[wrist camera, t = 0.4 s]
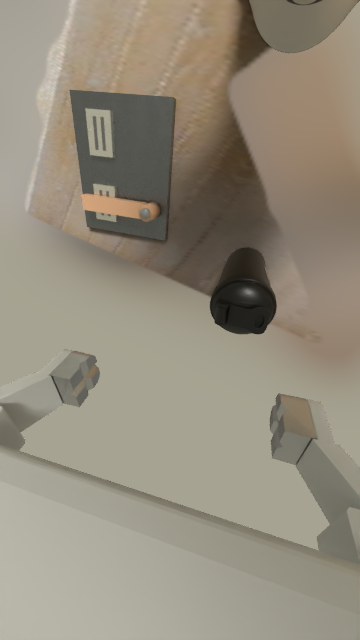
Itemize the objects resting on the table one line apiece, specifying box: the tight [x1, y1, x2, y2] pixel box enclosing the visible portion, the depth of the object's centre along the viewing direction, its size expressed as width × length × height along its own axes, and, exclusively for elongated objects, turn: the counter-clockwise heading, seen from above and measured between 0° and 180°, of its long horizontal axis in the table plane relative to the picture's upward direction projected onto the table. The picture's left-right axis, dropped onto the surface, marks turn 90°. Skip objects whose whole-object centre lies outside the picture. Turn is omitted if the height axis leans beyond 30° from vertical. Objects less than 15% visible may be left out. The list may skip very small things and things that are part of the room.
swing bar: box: [81, 194, 160, 222], centre depth 48 cm, size 17×3×5 cm, turn 85°
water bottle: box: [210, 248, 276, 334], centre depth 43 cm, size 10×10×23 cm
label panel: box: [70, 90, 176, 241], centre depth 47 cm, size 24×20×3 cm
